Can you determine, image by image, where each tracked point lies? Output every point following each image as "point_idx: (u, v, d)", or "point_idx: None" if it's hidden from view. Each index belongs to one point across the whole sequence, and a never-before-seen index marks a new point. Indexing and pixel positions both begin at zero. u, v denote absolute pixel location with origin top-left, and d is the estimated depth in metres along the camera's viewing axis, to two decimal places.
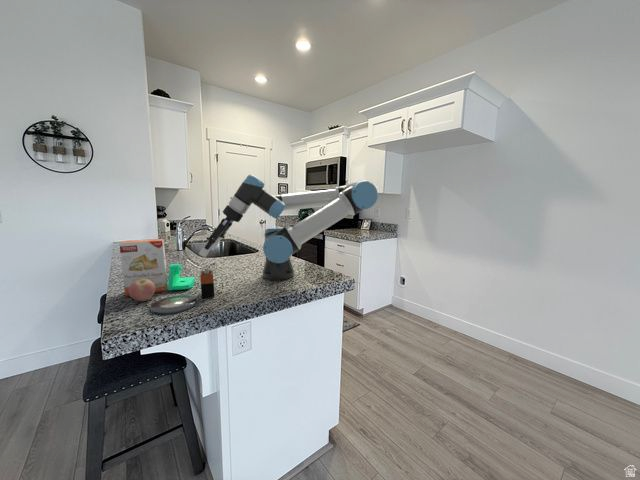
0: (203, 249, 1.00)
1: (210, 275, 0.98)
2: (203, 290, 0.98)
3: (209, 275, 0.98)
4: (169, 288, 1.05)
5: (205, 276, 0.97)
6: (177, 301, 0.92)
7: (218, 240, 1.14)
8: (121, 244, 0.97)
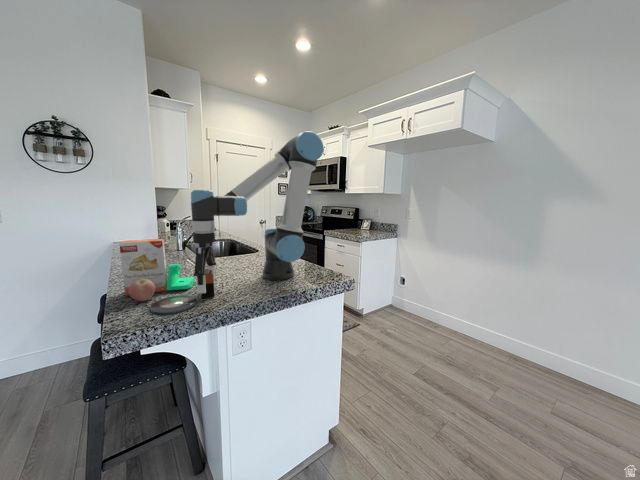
0: (199, 286, 0.94)
1: (210, 275, 0.98)
2: None
3: (209, 275, 0.98)
4: (168, 288, 1.05)
5: (205, 276, 0.97)
6: (177, 301, 0.92)
7: (212, 269, 1.07)
8: (121, 244, 0.97)
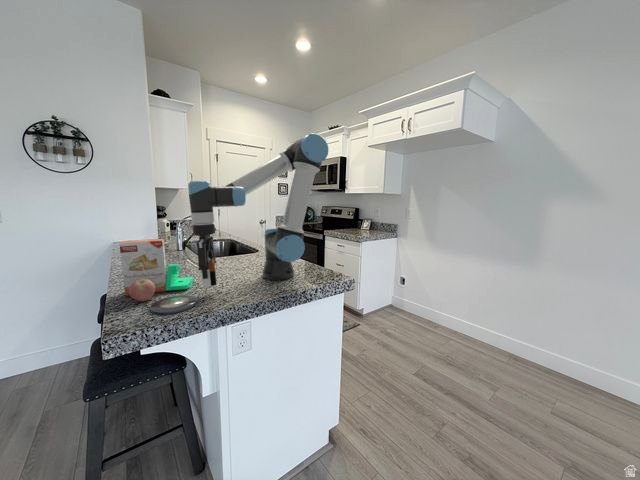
0: (204, 280, 0.97)
1: (211, 263, 0.97)
2: None
3: (210, 263, 0.97)
4: (167, 288, 1.04)
5: None
6: (177, 301, 0.92)
7: None
8: (121, 244, 0.97)
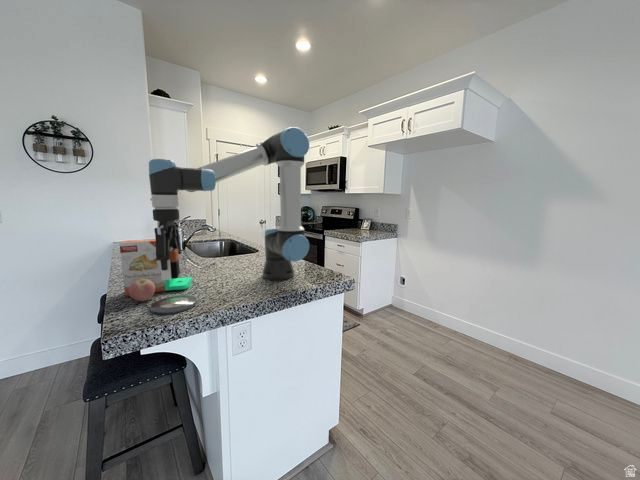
0: (163, 272, 0.85)
1: (172, 253, 0.86)
2: None
3: (171, 253, 0.86)
4: (166, 288, 1.04)
5: None
6: (177, 301, 0.92)
7: None
8: (121, 244, 0.97)
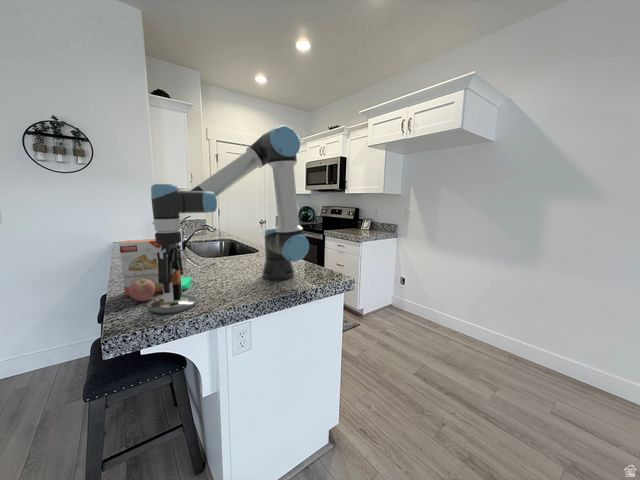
0: (165, 295, 0.86)
1: (174, 275, 0.87)
2: None
3: (173, 275, 0.87)
4: None
5: None
6: (177, 301, 0.92)
7: None
8: (121, 244, 0.97)
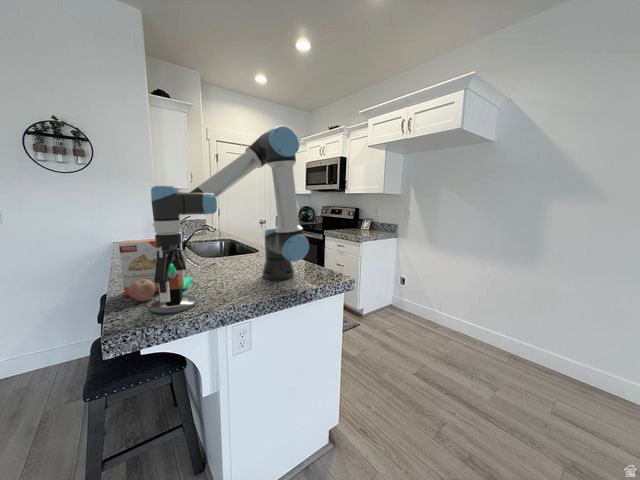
0: (161, 294, 0.83)
1: (175, 280, 0.88)
2: None
3: (174, 280, 0.87)
4: None
5: (169, 281, 0.87)
6: None
7: (181, 274, 0.97)
8: (120, 244, 0.97)
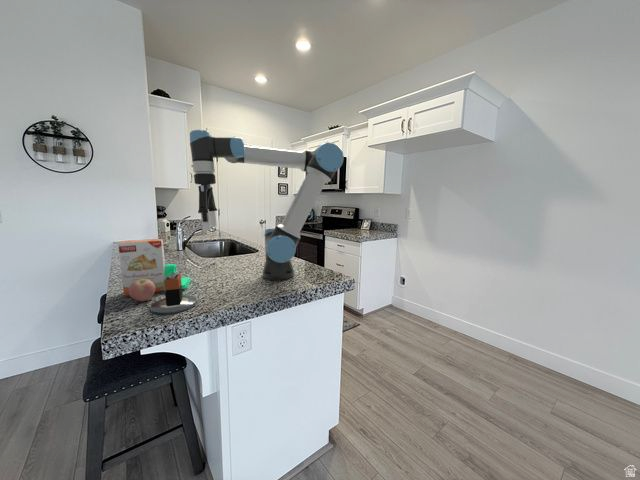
0: (203, 224, 0.97)
1: (175, 280, 0.88)
2: (167, 297, 0.87)
3: (174, 280, 0.87)
4: None
5: (169, 281, 0.87)
6: None
7: (213, 214, 1.10)
8: (120, 244, 0.97)
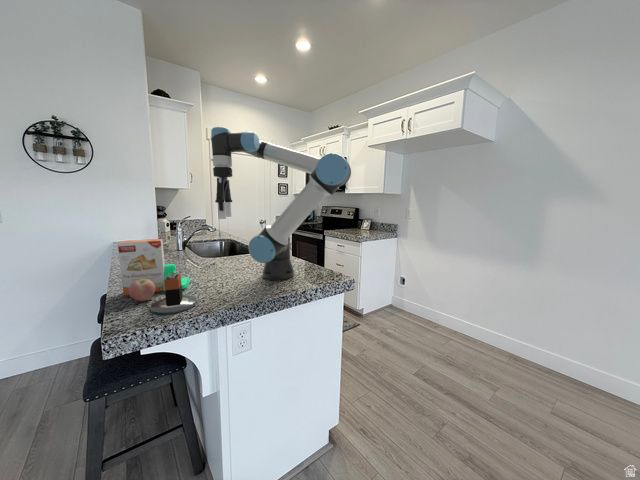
0: (219, 212, 1.06)
1: (175, 280, 0.88)
2: (167, 297, 0.87)
3: (174, 280, 0.87)
4: (164, 288, 1.04)
5: (169, 281, 0.87)
6: None
7: (229, 205, 1.19)
8: (119, 244, 0.97)
